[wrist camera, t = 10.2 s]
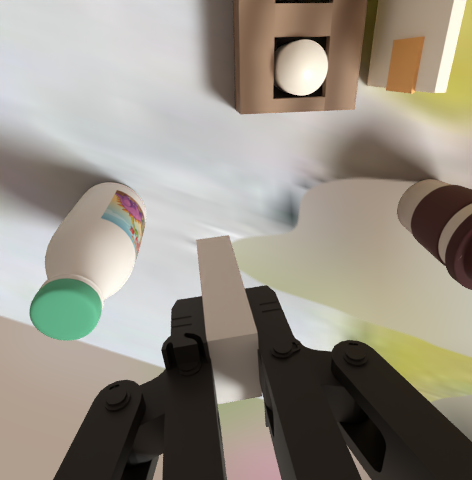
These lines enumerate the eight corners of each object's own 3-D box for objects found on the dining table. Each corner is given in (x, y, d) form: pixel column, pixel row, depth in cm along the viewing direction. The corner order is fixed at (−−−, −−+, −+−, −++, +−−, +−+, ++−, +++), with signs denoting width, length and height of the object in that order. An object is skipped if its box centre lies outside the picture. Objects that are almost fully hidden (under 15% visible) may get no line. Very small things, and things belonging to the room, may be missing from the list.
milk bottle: (85, 240, 43) (16, 362, 26) (75, 180, 40) (-12, 272, 22) (149, 239, 44) (125, 355, 27) (144, 180, 41) (114, 268, 23)
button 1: (268, 93, 38) (278, 96, 34) (269, 42, 36) (279, 40, 32) (311, 91, 38) (325, 94, 35) (314, 41, 36) (330, 38, 32)
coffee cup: (383, 243, 49) (457, 308, 36) (388, 175, 45) (474, 221, 31) (450, 230, 50) (547, 290, 36) (461, 162, 45) (577, 202, 32)
